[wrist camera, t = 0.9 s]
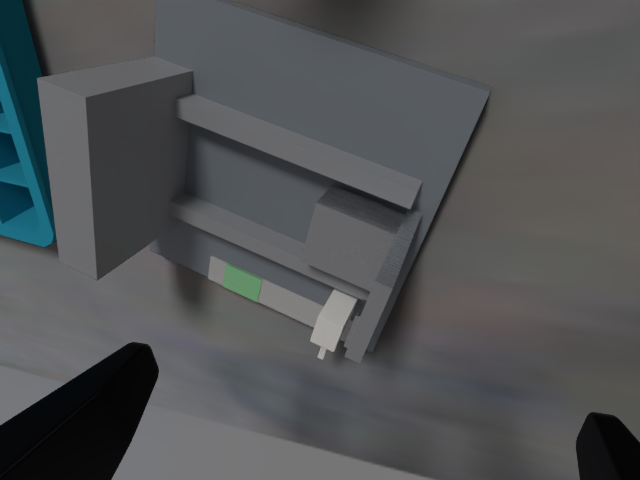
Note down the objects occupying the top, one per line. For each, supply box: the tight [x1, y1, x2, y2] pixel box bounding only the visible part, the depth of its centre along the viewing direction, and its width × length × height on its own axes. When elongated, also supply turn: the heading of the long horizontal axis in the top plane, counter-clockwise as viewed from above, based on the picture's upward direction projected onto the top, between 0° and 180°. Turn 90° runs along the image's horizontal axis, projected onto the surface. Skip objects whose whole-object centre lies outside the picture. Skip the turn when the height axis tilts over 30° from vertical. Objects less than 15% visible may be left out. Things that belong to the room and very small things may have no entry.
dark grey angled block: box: [301, 185, 422, 364], centre depth 18 cm, size 4×6×6 cm, turn 165°
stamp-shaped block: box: [310, 288, 358, 360], centre depth 21 cm, size 1×4×3 cm, turn 165°
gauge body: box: [37, 0, 491, 353], centre depth 19 cm, size 14×14×7 cm
